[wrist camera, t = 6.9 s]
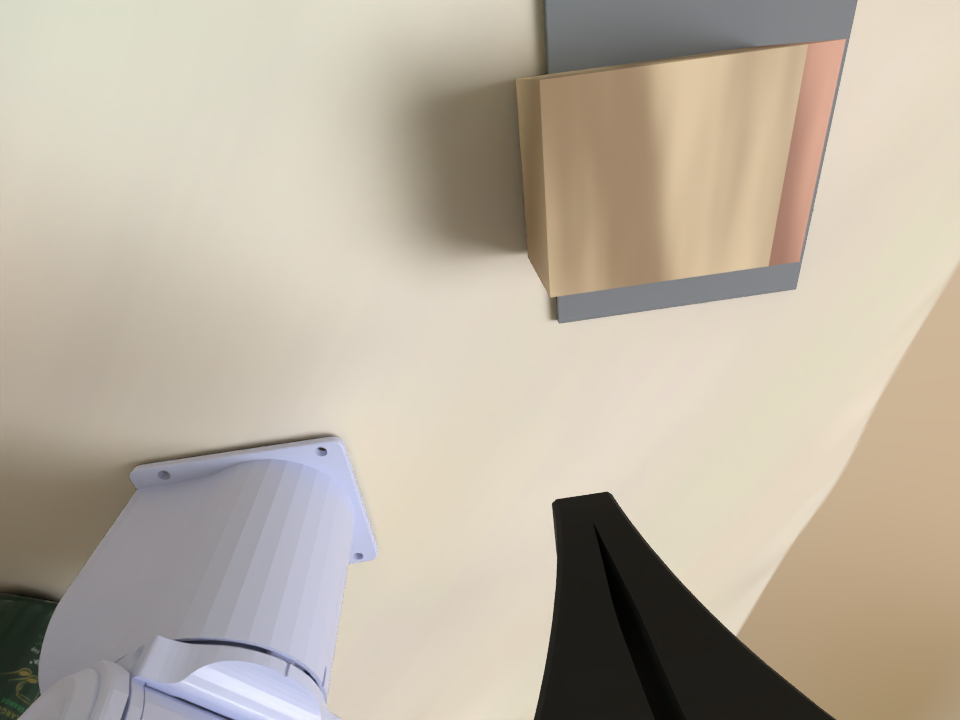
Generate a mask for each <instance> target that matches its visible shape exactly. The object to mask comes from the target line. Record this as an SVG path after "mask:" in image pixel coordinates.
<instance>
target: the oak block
mask: <svg viewBox="0 0 960 720" xmlns="http://www.w3.org/2000/svg"><path fill="white" fill-rule="evenodd" d="M845 42H846V39H840V40H828V41H815V42H803V43H791V44H779V45H766V46H756V47H748V48H741V49H733V50H726V51H718V52H711V53H703V54H696V55H688V56H681V57H673V58H666V59H658V60H651V61H644V62H636V63H629V64H621V65H614V66H606V67H599V68H591V69H584V70H576V71H569V72H561V73H554V74H546V75H539V76H531V77H524V78H516V92H517V106H518V121H519V135H520V149H521V164H522V178H523V192H524V207H525V221H526V236H527V250H528V258H529V260H530V262H531V264H532V265H533V267H534V269H535V271H536V273H537V275H538V276H539V278H540V280H541V282H542V284H543V285H544V287H545V289H546V291H547V293H548V294H549V296H550V298H551V297H558V296H565V295H572V294H579V293H586V292H593V291H600V290H606V289H613V288H620V287H627V286H634V285H641V284H648V283H655V282H662V281H669V280H676V279H683V278H690V277H697V276H704V275H711V274H718V273H725V272H732V271H739V270H746V269H752V268H759V267H766V266H773V265H780V264H787V263H794V262H799V261H800V256H801V251H802V247H803V242H804V237H805V232H806V228H807V223H808V218H809V213H810V209H811V204H812V199H813V194H814V189H815V185H816V180H817V175H818V170H819V166H820V161H821V156H822V151H823V147H824V142H825V137H826V132H827V128H828V123H829V118H830V113H831V109H832V104H833V99H834V94H835V90H836V85H837V80H838V75H839V71H840V66H841V61H842V56H843V52H844V47H845Z"/></svg>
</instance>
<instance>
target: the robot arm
mask: <svg viewBox="0 0 960 720" xmlns="http://www.w3.org/2000/svg"><path fill="white" fill-rule="evenodd" d="M319 447H323V448H325V449H326V450H325V451H321V450H319V449H318V448H319ZM163 471H166V472H168V473H169V474H167V473H164V472H163ZM129 477H130V480H131V481H132V483H133V485H134V486H135V488H136V492H135V493H134V495H133V496H132V497H131V499H130V500H129V502H128V503H127V505H126V506H125V507H124V509H123V510H122V512H121V513H120V515H119V516H118V518H117V519H116V520H115V522H114V523H113V525H112V526H111V528H110V529H109V530H108V532H107V533H106V535H105V536H104V538H103V539H102V541H101V542H100V543H99V545H98V546H97V548H96V549H95V551H94V552H93V553H92V555H91V556H90V558H89V559H88V561H87V562H86V564H85V565H84V566H83V568H82V569H81V571H80V572H79V574H78V575H77V576H76V578H75V579H74V581H73V582H72V584H71V585H70V587H69V588H68V589H67V591H66V592H65V594H64V595H63V597H62V598H61V600H60V602H59V604H58V605H57V607H56V609H55V611H54V613H53V615H52V618H51V620H50V622H49V625H48V628H47V631H46V634H45V637H44V641H43V645H42V649H41V654H40V660H39V670H38V679H39V687H40V693H41V696H40V697H39V698H38V699H37V700H36V701H35V702H34V703H33V704H32V705H31V706H30V707H29V708H28V709H27V710H26V711H25V712H24V713H23V714H22V715H21V716H20V717H19V718H18V720H341V718H339V717H338V716H336V715H334V714H333V713H332V712H330V711H329V710H328V708H327V706H326V704H327V697H328V691H329V685H330V679H331V672H332V666H333V660H334V653H335V647H336V641H337V634H338V628H339V622H340V616H341V609H342V603H343V597H344V590H345V584H346V578H347V571H348V565H349V564H351V563H357V562H364V561H370V560H373V559H375V558H376V557H377V555H378V546H377V543H376V540H375V537H374V534H373V531H372V528H371V524H370V521H369V518H368V515H367V512H366V509H365V506H364V503H363V499H362V496H361V493H360V490H359V487H358V484H357V481H356V477H355V474H354V471H353V468H352V465H351V462H350V459H349V456H348V452H347V449H346V446H345V443H344V442H343V440H342V439H340V438H338V437H325V438H318V439H311V440H305V441H298V442H291V443H285V444H278V445H271V446H264V447H258V448H251V449H244V450H237V451H231V452H224V453H217V454H210V455H204V456H197V457H190V458H184V459H177V460H170V461H163V462H157V463H150V464H143V465H138V466H136V467H135V468H134V469H133V470H132V471H131V473H130V476H129ZM552 509H553V519H554V530H555V540H556V551H557V578H556V592H555V601H554V611H553V620H552V628H551V635H550V641H549V648H548V653H547V659H546V665H545V670H544V675H543V680H542V685H541V690H540V695H539V700H538V704H537V709H536V713H535V717H534V720H836V719H834V718H833V717H832V716H830V715H829V714H828V713H827V712H825V711H824V710H823V709H821V708H820V707H819V706H817V705H816V704H815V703H814V702H812V701H811V700H810V699H809V698H807V697H806V696H805V695H804V694H803V693H801V692H800V691H799V690H798V689H796V688H795V687H794V686H793V685H792V684H790V683H789V682H788V681H787V680H785V679H784V678H783V677H782V676H780V675H779V674H778V673H777V672H776V671H774V670H773V669H772V668H771V667H769V666H768V665H767V664H766V663H765V662H764V661H762V660H761V659H760V658H759V657H758V656H757V655H756V654H754V653H753V652H752V651H751V650H750V649H749V648H748V647H747V646H746V645H744V644H743V643H742V642H741V641H740V640H739V639H738V638H737V637H736V636H735V635H734V634H732V633H731V632H730V631H729V630H728V629H727V628H726V627H725V626H724V625H723V624H722V623H721V622H720V621H719V620H718V619H717V618H716V617H715V616H714V615H713V614H712V613H710V611H709V610H708V609H707V608H706V607H705V606H704V605H703V604H702V603H701V602H700V601H699V600H698V599H697V598H696V597H695V596H694V595H693V594H692V593H691V592H690V591H689V590H688V589H687V588H686V587H685V586H684V585H683V583H682V582H681V581H680V580H679V579H678V578H677V577H676V576H675V575H674V574H673V572H672V571H671V570H670V569H669V568H668V567H667V566H666V564H665V563H664V562H663V561H662V560H661V559H660V557H659V556H658V555H657V554H656V553H655V552H654V550H653V549H652V548H651V547H650V546H649V544H648V543H647V542H646V541H645V539H644V538H643V537H642V536H641V534H640V533H639V532H638V530H637V529H636V528H635V527H634V525H633V524H632V523H631V521H630V520H629V519H628V517H627V516H626V515H625V513H624V512H623V510H622V509H621V507H620V506H619V505H618V503H617V502H616V500H615V499H614V497H613V495H612V494H610V493H609V492H602V493H595V494H589V495H582V496H576V497H569V498H563V499H556V500H555V501H554V502H553V503H552Z"/></svg>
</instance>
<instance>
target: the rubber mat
mask: <svg viewBox="0 0 960 720" xmlns="http://www.w3.org/2000/svg"><path fill="white" fill-rule="evenodd" d="M856 5H857V0H544V9H545V33H546V57H547V74H554V73H561V72H569V71H576V70H584V69H591V68H599V67H606V66H614V65H621V64H629V63H636V62H644V61H651V60H658V59H666V58H673V57H681V56H688V55H696V54H703V53H711V52H718V51H726V50H733V49H741V48H748V47H756V46H766V45H779V44H791V43H803V42H815V41H828V40H840V39H846V42H845V47H844V52H843V56H842V61H841V66H840V71H839V75H838V80H837V85H836V90H835V94H834V99H833V104H832V109H831V113H830V118H829V123H828V128H827V132H826V137H825V142H824V147H823V151H822V156H821V161H820V166H819V170H818V175H817V180H816V185H815V189H814V194H813V199H812V204H811V209H810V213H809V218H808V223H807V228H806V232H805V237H804V242H803V247H802V251H801V256H800V261H799V262H794V263H787V264H780V265H773V266H766V267H759V268H752V269H746V270H739V271H732V272H725V273H718V274H711V275H704V276H697V277H690V278H683V279H676V280H669V281H662V282H655V283H648V284H641V285H634V286H627V287H620V288H613V289H606V290H600V291H593V292H586V293H579V294H572V295H565V296H558V297H557V320H558V322H559V324H560V323H566V322H573V321H580V320H587V319H594V318H601V317H608V316H615V315H622V314H628V313H635V312H642V311H649V310H656V309H663V308H670V307H677V306H684V305H691V304H697V303H704V302H711V301H718V300H725V299H732V298H739V297H746V296H753V295H760V294H766V293H773V292H780V291H787V290H794V289H796V287H797V282H798V277H799V273H800V268H801V263H802V259H803V254H804V249H805V245H806V240H807V235H808V230H809V226H810V221H811V216H812V212H813V207H814V202H815V198H816V193H817V188H818V183H819V179H820V174H821V169H822V165H823V160H824V155H825V151H826V146H827V141H828V137H829V132H830V127H831V122H832V118H833V113H834V108H835V104H836V99H837V94H838V90H839V85H840V80H841V75H842V71H843V66H844V61H845V57H846V52H847V47H848V43H849V38H850V33H851V29H852V24H853V19H854V14H855V10H856Z"/></svg>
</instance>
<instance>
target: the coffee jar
mask: <svg viewBox="0 0 960 720" xmlns="http://www.w3.org/2000/svg"><path fill="white" fill-rule="evenodd" d="M58 604H59V603H57V602H53V601H47V600H41V599H36V598H31V597H25V596H17V595H14V594H0V720H18V718H19V717H20V716H21V715H22V714H23V713H24V712H25V711H26V710H27V709H28V708H29V707H30V706H31V705H32V704H33V703H34V702H35V701H36V700H37V699H38V698H39V697H40V696H41V693H40V687H39V679H38V670H39V660H40V654H41V649H42V645H43V641H44V637H45V634H46V631H47V628H48V625H49V622H50V620H51V618H52V615H53V613H54V611H55V609H56V607H57V605H58Z"/></svg>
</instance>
